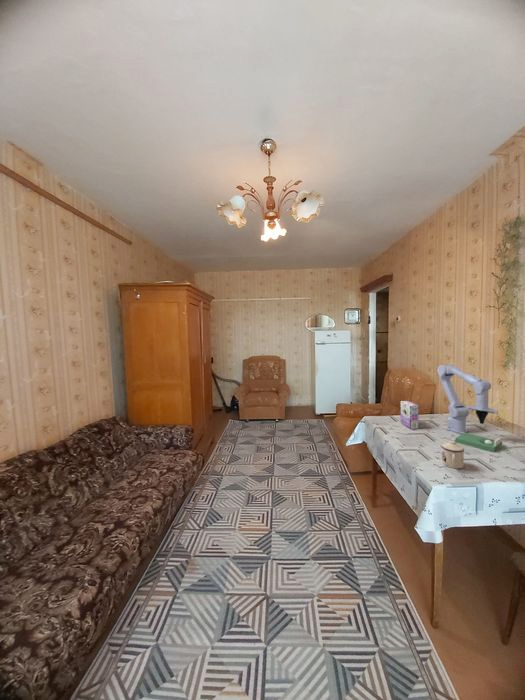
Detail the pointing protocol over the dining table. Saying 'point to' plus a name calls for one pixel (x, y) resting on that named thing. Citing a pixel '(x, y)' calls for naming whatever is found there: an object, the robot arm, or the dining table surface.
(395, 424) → the dining table surface
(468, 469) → the dining table surface
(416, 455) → the dining table surface
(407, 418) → the candy box
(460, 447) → the teacup with lid
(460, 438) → the green
